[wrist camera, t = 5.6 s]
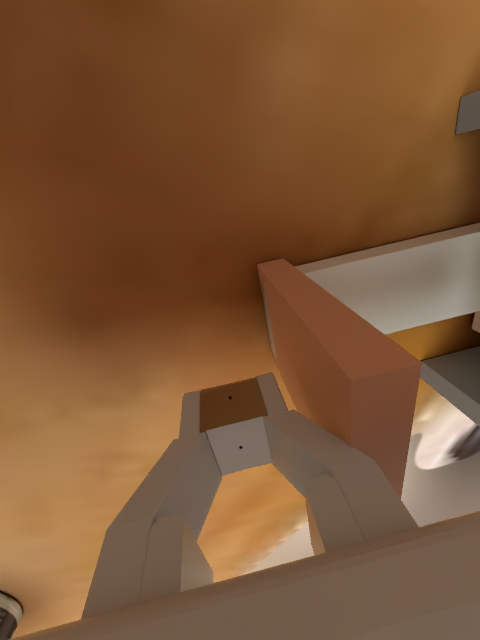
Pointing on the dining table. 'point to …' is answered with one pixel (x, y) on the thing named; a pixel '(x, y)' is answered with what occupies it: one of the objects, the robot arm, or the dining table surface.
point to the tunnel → (471, 364)
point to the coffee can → (9, 616)
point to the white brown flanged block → (367, 333)
